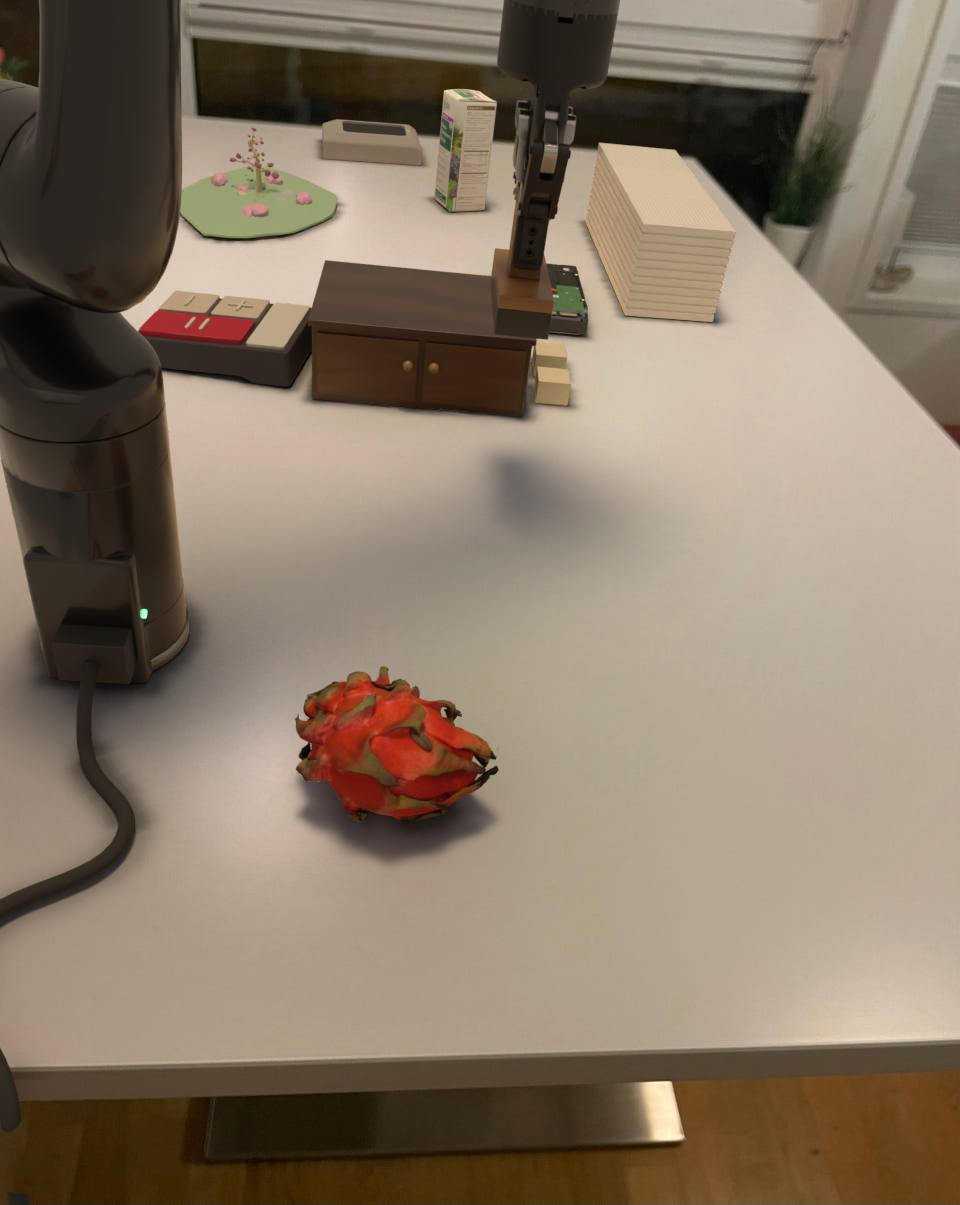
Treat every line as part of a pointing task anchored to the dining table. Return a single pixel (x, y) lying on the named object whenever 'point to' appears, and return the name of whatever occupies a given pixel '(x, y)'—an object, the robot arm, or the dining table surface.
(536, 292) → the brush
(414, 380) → the cabinet
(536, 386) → the wooden block
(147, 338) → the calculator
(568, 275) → the disk drive
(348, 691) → the dragon fruit
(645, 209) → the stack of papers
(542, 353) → the wooden block
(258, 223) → the plant
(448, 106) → the syrup box
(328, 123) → the beige low box
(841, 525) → the dining table surface
